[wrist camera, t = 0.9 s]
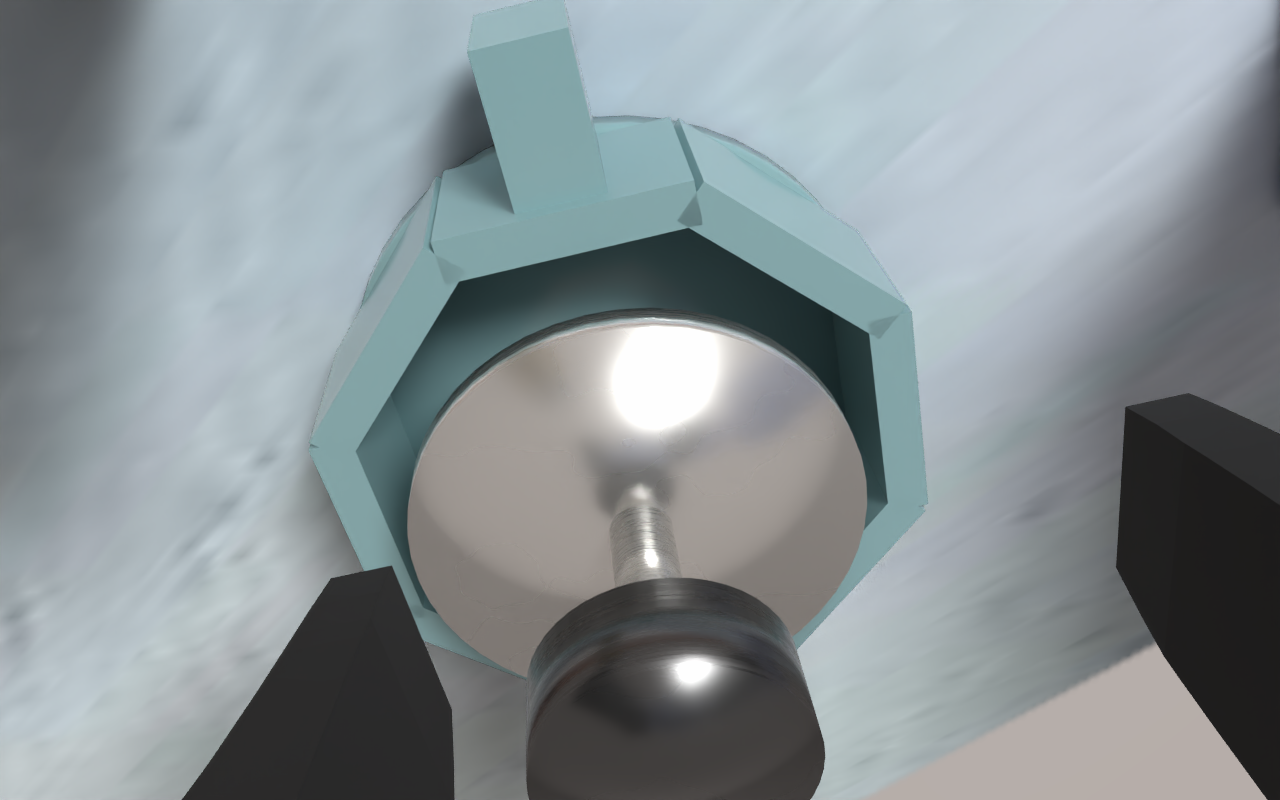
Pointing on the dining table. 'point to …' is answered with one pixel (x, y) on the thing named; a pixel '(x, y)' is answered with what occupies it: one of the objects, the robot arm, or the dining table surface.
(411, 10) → the dining table surface
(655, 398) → the doorknob
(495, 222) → the teal tabbed tray
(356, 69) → the dining table surface
